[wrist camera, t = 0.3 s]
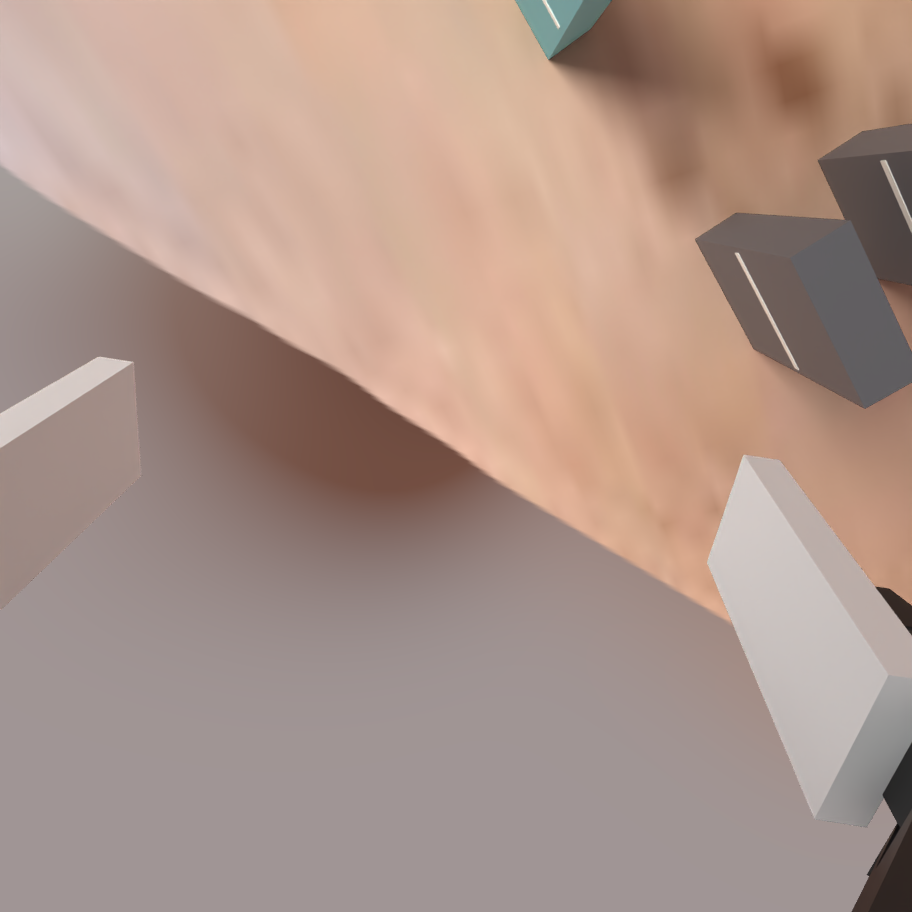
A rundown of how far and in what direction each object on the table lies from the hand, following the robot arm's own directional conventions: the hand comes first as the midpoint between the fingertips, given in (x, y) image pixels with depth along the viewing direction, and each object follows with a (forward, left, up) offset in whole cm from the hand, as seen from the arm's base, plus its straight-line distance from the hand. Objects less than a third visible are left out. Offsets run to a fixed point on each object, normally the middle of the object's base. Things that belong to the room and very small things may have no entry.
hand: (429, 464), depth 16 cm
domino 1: (-1, +16, -25) cm, 30 cm away
